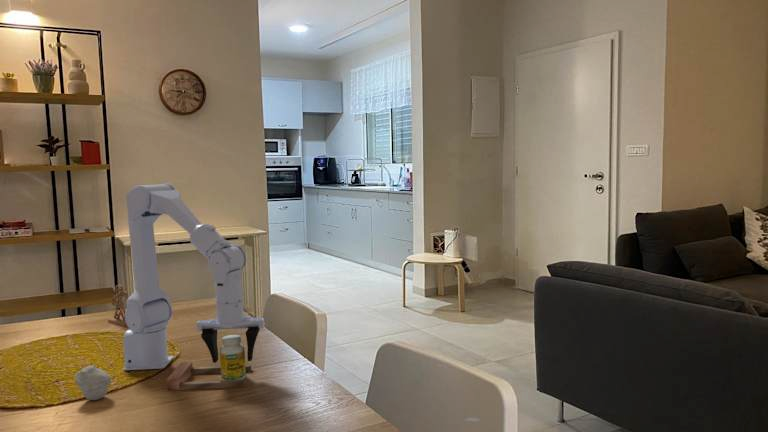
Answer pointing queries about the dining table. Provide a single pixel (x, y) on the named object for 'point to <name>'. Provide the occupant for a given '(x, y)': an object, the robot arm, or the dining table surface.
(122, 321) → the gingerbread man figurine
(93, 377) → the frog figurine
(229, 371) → the supplement bottle
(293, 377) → the dining table surface
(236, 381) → the guide channel
